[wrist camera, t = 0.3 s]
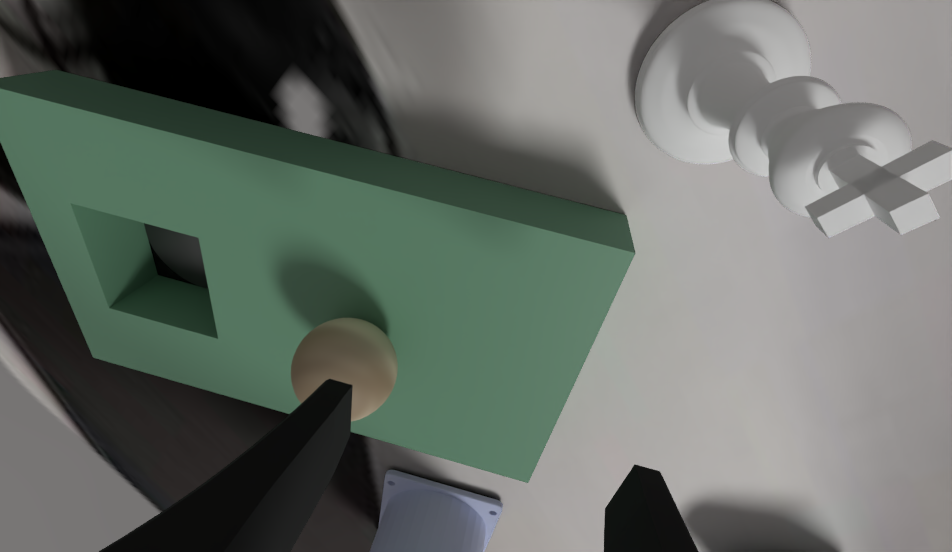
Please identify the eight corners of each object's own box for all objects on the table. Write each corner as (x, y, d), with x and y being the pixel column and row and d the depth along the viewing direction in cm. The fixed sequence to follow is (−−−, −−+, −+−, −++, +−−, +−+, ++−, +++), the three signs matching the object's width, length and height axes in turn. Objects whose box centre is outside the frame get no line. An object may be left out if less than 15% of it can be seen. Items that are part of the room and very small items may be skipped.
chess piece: (605, 76, 15) (647, 184, 6) (758, -49, 12) (1144, -137, 4) (682, 187, 16) (797, 393, 8) (832, 95, 14) (1225, 249, 5)
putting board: (626, 215, 17) (635, 252, 14) (532, 434, 25) (528, 482, 22) (56, 69, 18) (-26, 81, 16) (139, 322, 26) (93, 357, 24)
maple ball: (406, 379, 20) (372, 456, 17) (322, 356, 20) (272, 427, 17) (415, 312, 18) (379, 386, 14) (321, 286, 18) (263, 353, 15)
